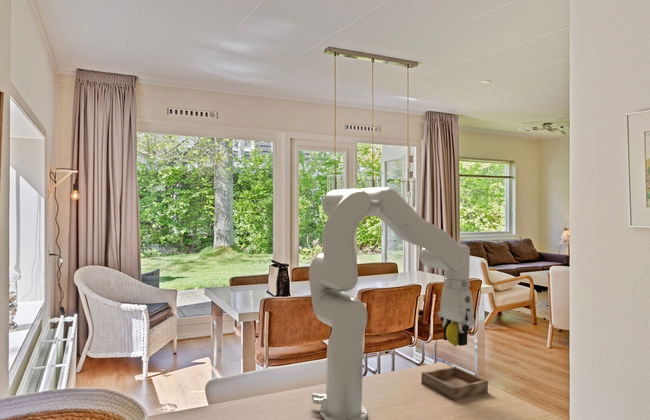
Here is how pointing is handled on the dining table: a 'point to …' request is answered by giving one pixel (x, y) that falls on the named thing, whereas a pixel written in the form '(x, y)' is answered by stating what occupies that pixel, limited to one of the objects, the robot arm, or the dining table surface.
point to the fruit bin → (454, 383)
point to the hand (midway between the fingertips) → (455, 341)
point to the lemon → (453, 333)
